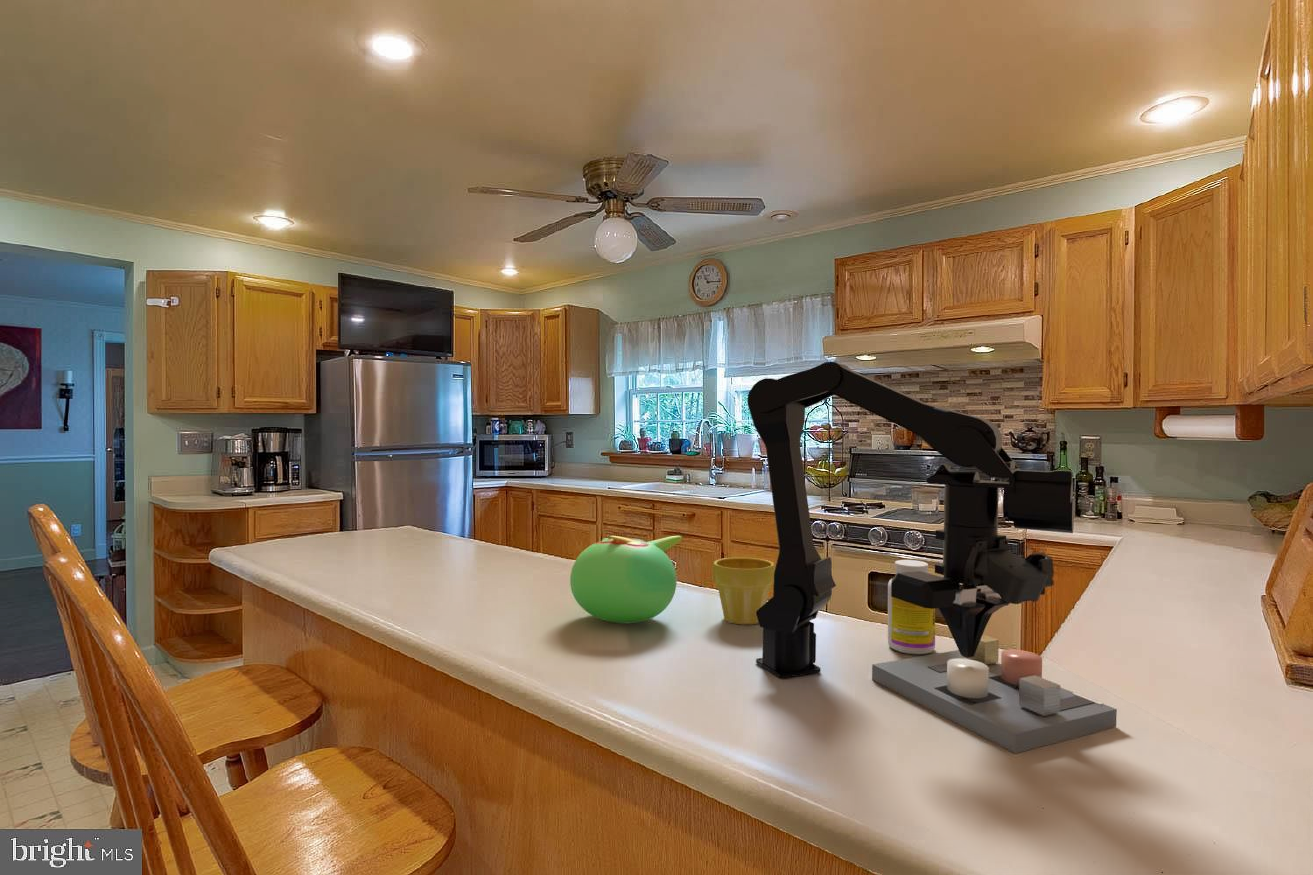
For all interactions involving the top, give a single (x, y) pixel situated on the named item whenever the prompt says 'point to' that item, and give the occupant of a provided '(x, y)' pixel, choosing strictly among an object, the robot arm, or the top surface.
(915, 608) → the supplement bottle
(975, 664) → the button ivory
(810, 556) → the robot arm
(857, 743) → the top surface
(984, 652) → the brushed gold cube
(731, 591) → the plant pot
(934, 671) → the panel
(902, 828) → the top surface
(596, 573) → the toy bird
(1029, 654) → the button rust
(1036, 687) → the lever grey
